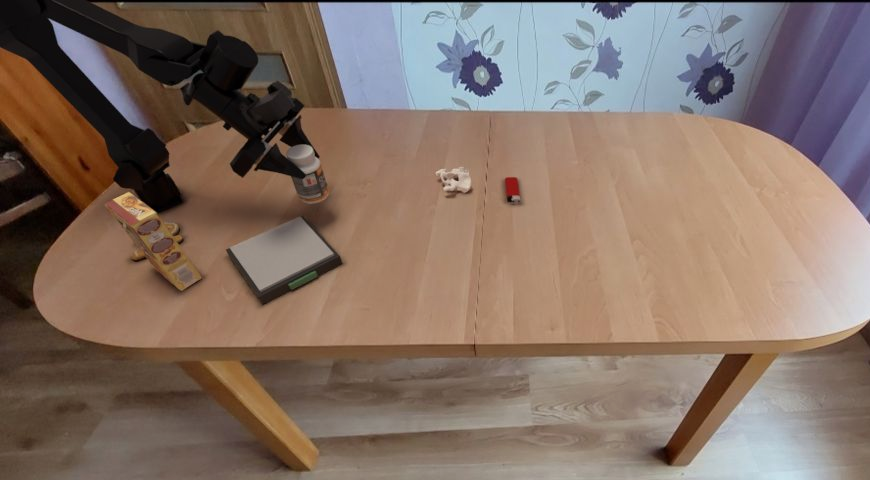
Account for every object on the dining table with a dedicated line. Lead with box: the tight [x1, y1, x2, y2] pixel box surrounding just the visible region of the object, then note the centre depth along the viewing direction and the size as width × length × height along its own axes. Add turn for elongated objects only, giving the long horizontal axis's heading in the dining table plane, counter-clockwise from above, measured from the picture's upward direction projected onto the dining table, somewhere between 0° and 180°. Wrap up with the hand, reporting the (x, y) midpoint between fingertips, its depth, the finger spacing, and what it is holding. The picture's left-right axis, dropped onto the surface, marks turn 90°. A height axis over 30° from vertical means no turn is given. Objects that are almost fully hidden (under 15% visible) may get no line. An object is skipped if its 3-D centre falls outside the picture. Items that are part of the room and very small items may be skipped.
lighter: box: [504, 176, 521, 205], centre depth 101 cm, size 3×1×8 cm
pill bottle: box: [285, 145, 330, 205], centre depth 87 cm, size 6×6×10 cm
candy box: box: [104, 191, 202, 292], centre depth 78 cm, size 9×4×15 cm, turn 54°
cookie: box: [129, 222, 183, 261], centre depth 88 cm, size 8×1×10 cm
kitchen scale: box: [225, 215, 343, 305], centre depth 85 cm, size 15×16×3 cm
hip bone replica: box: [435, 166, 472, 194], centre depth 101 cm, size 8×4×7 cm
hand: (311, 167), depth 85 cm, fingers closed on pill bottle, 6 cm apart
